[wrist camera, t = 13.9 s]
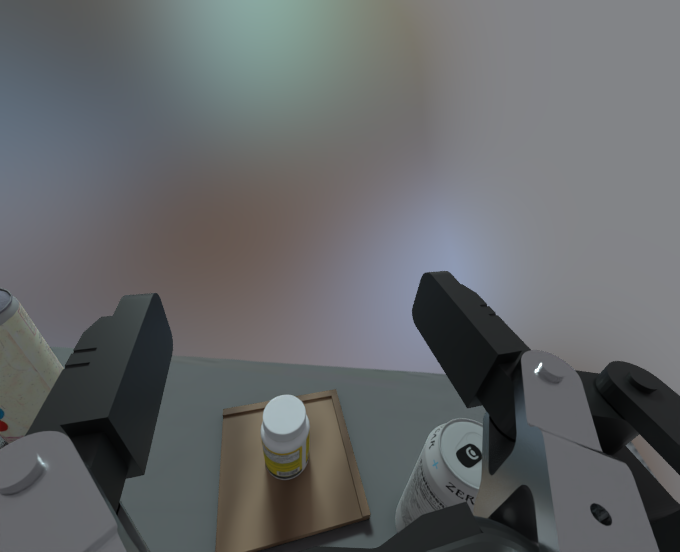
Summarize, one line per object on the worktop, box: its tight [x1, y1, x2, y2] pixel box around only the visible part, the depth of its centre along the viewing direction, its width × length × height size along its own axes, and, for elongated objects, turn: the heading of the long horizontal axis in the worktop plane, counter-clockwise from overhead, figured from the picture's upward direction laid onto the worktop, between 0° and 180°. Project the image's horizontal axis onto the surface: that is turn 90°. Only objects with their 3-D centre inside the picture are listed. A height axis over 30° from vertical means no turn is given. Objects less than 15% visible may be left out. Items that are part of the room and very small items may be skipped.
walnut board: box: [215, 389, 371, 552], centre depth 33 cm, size 14×14×1 cm
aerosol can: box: [0, 288, 64, 444], centre depth 30 cm, size 7×7×20 cm
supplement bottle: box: [261, 395, 310, 480], centre depth 31 cm, size 5×5×8 cm
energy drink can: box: [395, 418, 483, 533], centre depth 25 cm, size 6×6×15 cm
